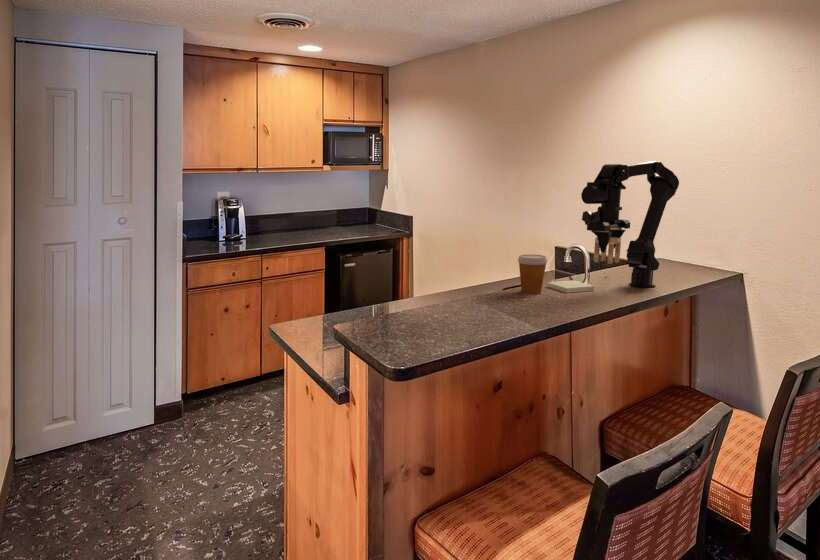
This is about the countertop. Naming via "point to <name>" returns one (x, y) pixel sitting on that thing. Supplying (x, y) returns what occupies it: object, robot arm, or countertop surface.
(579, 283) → the sage board
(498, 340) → the countertop surface
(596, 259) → the maple stool
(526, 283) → the disposable coffee cup
